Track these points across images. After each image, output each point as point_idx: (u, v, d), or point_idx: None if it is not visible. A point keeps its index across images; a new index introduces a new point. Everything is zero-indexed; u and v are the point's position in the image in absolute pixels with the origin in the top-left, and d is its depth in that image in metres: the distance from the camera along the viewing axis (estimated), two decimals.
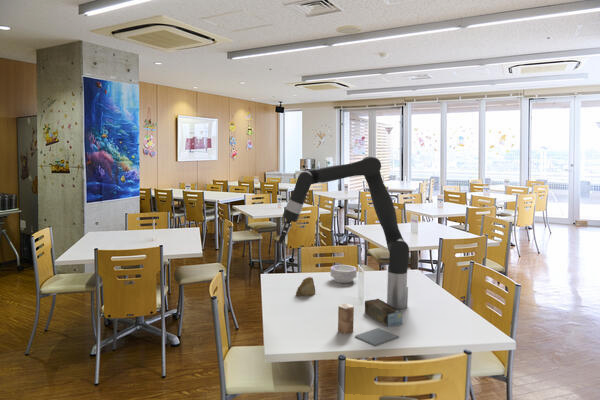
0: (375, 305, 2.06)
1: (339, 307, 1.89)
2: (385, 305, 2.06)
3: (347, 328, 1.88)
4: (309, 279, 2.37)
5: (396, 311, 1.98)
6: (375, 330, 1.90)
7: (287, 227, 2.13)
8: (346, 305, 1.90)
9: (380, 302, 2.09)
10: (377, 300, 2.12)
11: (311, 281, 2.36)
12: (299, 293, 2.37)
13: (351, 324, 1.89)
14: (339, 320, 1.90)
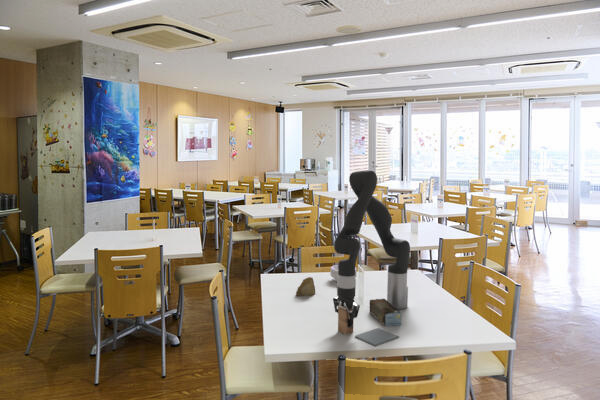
0: (377, 304, 2.07)
1: (339, 307, 1.89)
2: (387, 305, 2.06)
3: (347, 328, 1.88)
4: (309, 279, 2.37)
5: (395, 311, 1.98)
6: (375, 330, 1.90)
7: (357, 309, 1.85)
8: None
9: (384, 302, 2.10)
10: (382, 300, 2.12)
11: (311, 281, 2.36)
12: (299, 293, 2.37)
13: None
14: (339, 320, 1.90)
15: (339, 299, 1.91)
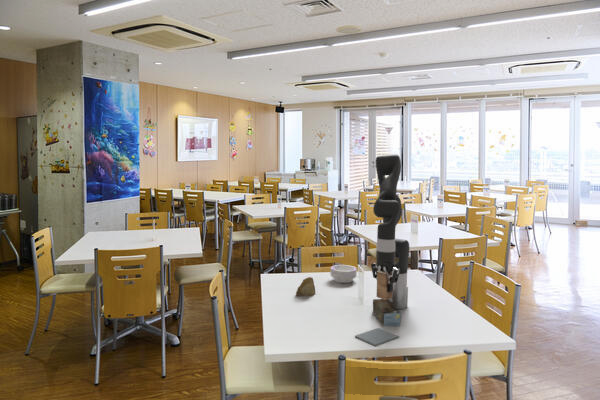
0: (379, 304, 2.08)
1: (378, 272, 1.84)
2: (389, 305, 2.06)
3: (386, 293, 1.83)
4: (309, 279, 2.37)
5: (394, 311, 1.97)
6: (375, 330, 1.90)
7: (398, 273, 1.80)
8: None
9: (386, 302, 2.10)
10: (385, 300, 2.12)
11: (311, 281, 2.36)
12: (299, 293, 2.37)
13: None
14: (377, 286, 1.85)
15: (378, 264, 1.86)
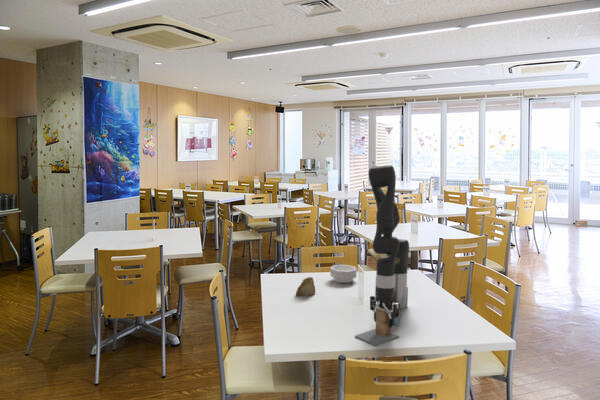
0: None
1: (377, 309, 1.86)
2: None
3: (386, 329, 1.84)
4: (309, 279, 2.37)
5: None
6: (375, 330, 1.90)
7: (398, 308, 1.81)
8: None
9: None
10: None
11: (311, 281, 2.36)
12: (299, 293, 2.37)
13: None
14: (377, 322, 1.87)
15: (377, 299, 1.87)
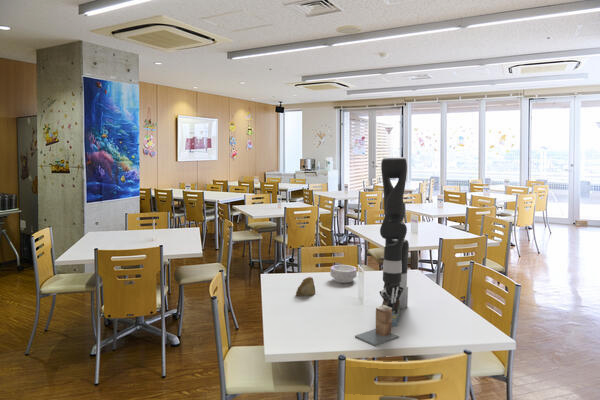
0: (384, 303, 2.08)
1: (377, 309, 1.86)
2: None
3: (385, 329, 1.84)
4: (309, 279, 2.37)
5: None
6: (375, 330, 1.90)
7: (384, 296, 1.84)
8: (384, 306, 1.87)
9: None
10: None
11: (311, 281, 2.36)
12: (299, 293, 2.37)
13: (389, 326, 1.86)
14: (376, 322, 1.86)
15: None
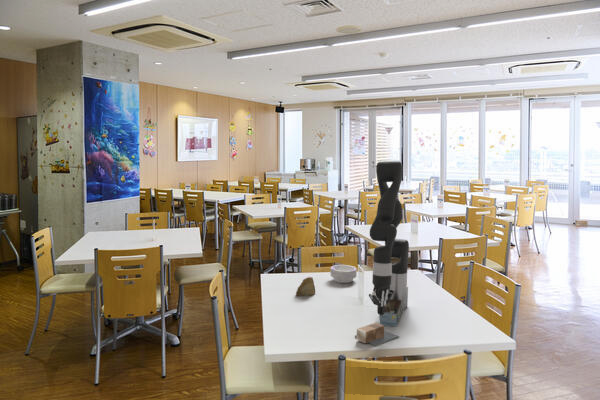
0: None
1: None
2: (393, 306, 2.05)
3: (379, 335, 1.82)
4: (309, 279, 2.37)
5: (391, 312, 1.97)
6: None
7: (373, 299, 1.81)
8: (360, 333, 1.79)
9: (394, 302, 2.09)
10: (395, 300, 2.11)
11: (311, 281, 2.36)
12: (299, 293, 2.37)
13: (378, 330, 1.82)
14: None
15: None
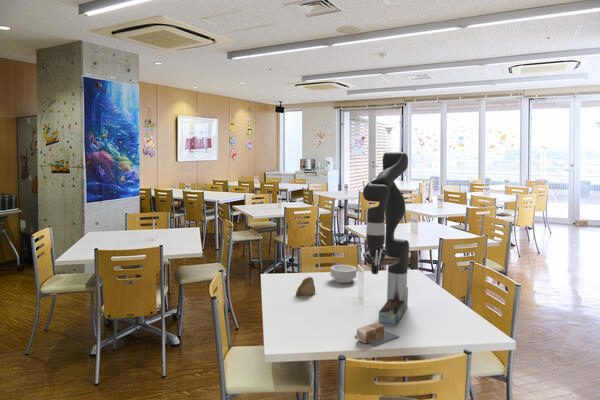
0: (387, 303, 2.08)
1: None
2: (395, 306, 2.05)
3: (379, 335, 1.82)
4: (309, 279, 2.37)
5: (390, 312, 1.97)
6: None
7: (367, 258, 1.85)
8: (360, 333, 1.79)
9: (396, 303, 2.08)
10: (398, 301, 2.11)
11: (311, 281, 2.36)
12: (299, 293, 2.37)
13: (378, 330, 1.82)
14: None
15: None
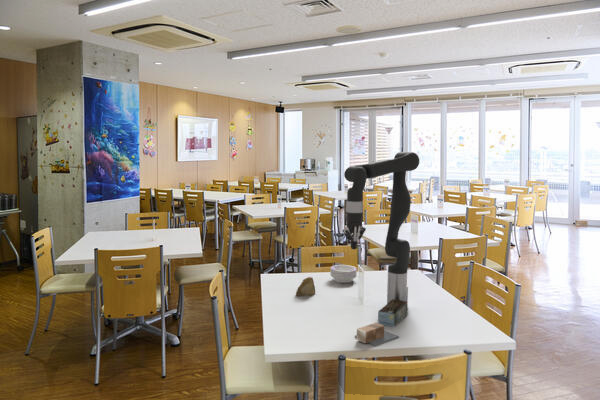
0: (389, 303, 2.08)
1: None
2: (396, 306, 2.05)
3: (379, 335, 1.82)
4: (309, 279, 2.37)
5: (389, 311, 1.97)
6: None
7: (346, 234, 2.02)
8: (360, 333, 1.79)
9: (398, 303, 2.08)
10: (400, 301, 2.10)
11: (311, 281, 2.36)
12: (299, 293, 2.37)
13: (378, 330, 1.82)
14: None
15: None
